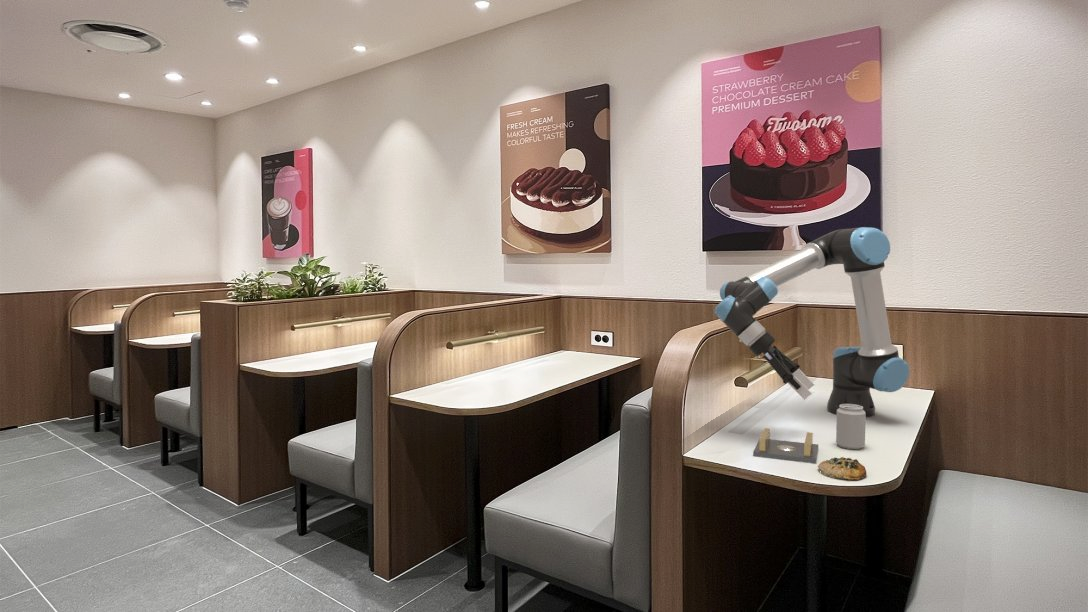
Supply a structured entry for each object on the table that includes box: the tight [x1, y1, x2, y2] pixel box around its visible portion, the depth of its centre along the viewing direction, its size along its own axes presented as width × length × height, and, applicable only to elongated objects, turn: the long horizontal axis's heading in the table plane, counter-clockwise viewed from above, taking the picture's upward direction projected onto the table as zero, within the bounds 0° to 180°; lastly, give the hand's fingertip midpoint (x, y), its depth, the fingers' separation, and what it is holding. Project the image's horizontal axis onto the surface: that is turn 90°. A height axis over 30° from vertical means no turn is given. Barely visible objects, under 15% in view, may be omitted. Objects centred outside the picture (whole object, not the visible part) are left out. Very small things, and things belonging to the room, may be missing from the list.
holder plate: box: [752, 427, 819, 464], centre depth 174 cm, size 16×14×5 cm
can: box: [835, 404, 867, 450], centre depth 178 cm, size 8×8×12 cm
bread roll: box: [817, 456, 867, 481], centre depth 157 cm, size 11×11×5 cm
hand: (809, 391), depth 182 cm, fingers open, 13 cm apart
